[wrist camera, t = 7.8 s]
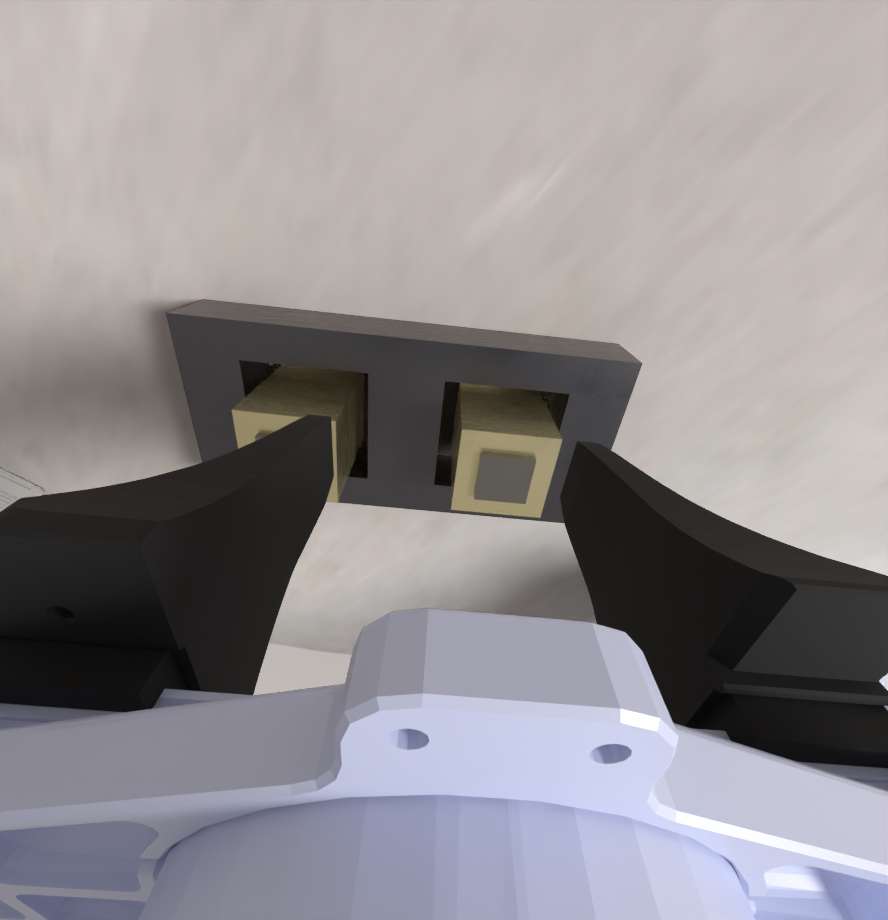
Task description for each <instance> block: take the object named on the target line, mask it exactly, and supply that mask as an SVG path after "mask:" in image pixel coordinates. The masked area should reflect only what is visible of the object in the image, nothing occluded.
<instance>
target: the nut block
mask: <svg viewBox="0 0 888 920" xmlns="http://www.w3.org/2000/svg"><path fill="white" fill-rule="evenodd" d="M232 415H233V421H234V427H235V433H236V439H237V444H238V449H239V448H241V447H243V446H245V445H248V444H250V443H252V442H254V441H257V440H259V439H261V438H263V437H265V436H267V435H269V434H271V433H273V432H275V431H277V430H279V429H281V428H283V427H285V426H286V425H288V424H290V423H292V422H294V421H296V420H298V419H300V418H303V417H305V416H308V415H318V416H328V417H331V426H332V446H333V467H334V477H333V481H332V484H331V488H330V491H329V494H328V497H327V500H326V502H336V503H338V501H339V499H340V496H341V493H342V491H343V488H344V486H345V483H346V481H347V478H348V476H349V473H350V471H351V468H352V466H353V463H354V461H355V458H356V456H357V453H358V451H359V448H360V446H361V443H362V441H363V433H364V373H360V372H350V371H341V370H331V369H321V368H311V367H302V366H292V365H281V366H280V367H279V368H278V369H276V370H275V371H274V372H273V373H272V374H271V375H270V376H269V377H267V378H266V379H265V380H264V381H263V382H262V383H261V384H260V385H259V386H257V387H256V388H255V389H254V390H253V391H252V392H251V393H250V394H249V395H247V396H246V397H245V398H244V399H243V400H242V401H241V402H240V403H239V404H237V405H236V406H235V407H234V408H233V409H232Z"/></svg>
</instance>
